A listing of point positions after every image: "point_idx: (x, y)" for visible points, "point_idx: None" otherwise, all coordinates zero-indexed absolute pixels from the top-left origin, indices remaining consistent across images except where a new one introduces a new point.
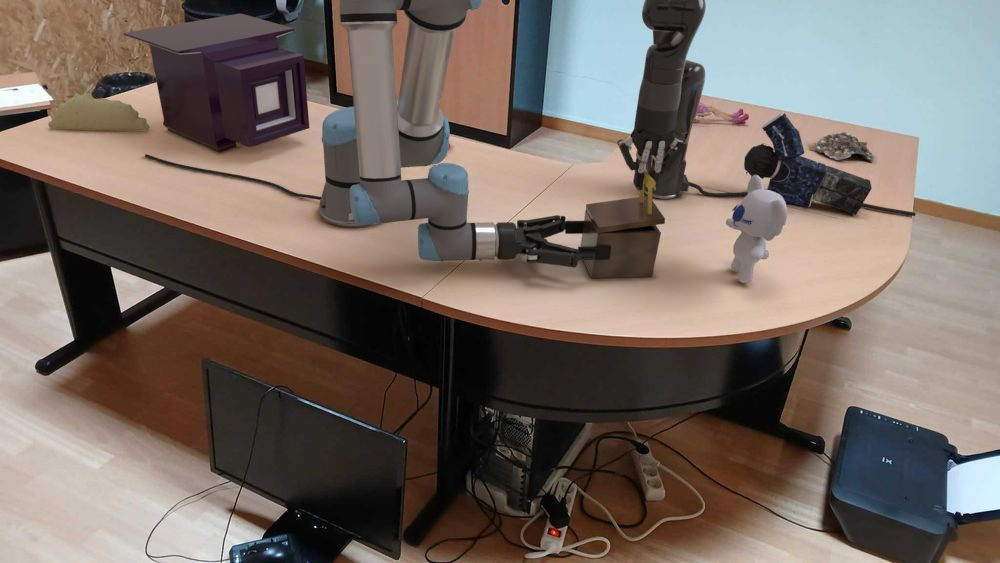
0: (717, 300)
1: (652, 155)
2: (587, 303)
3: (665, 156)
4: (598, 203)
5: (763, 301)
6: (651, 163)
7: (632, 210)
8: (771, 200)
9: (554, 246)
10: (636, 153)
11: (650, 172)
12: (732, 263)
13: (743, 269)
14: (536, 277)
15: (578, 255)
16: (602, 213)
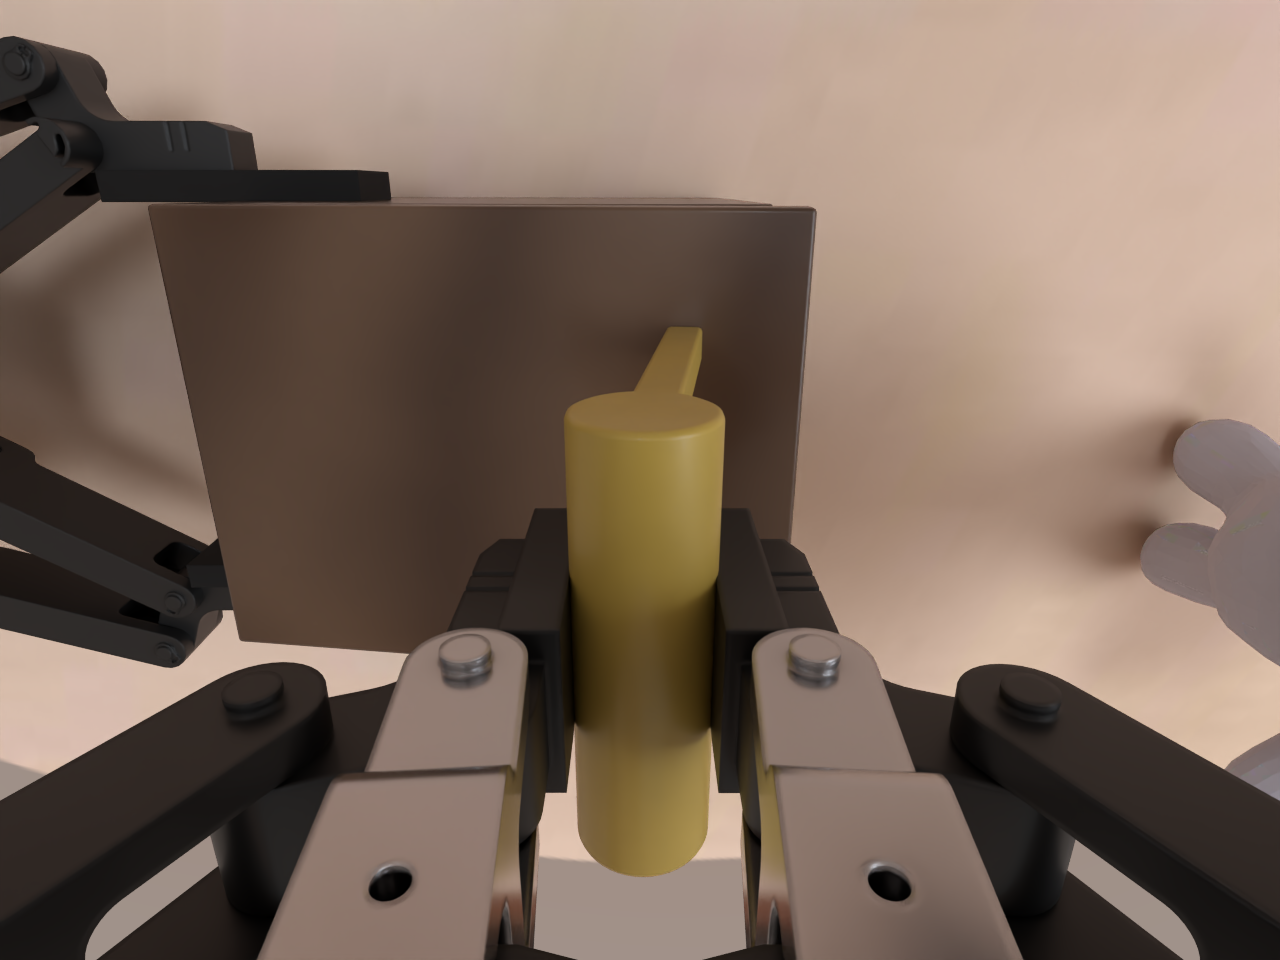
0: (939, 669)
1: (769, 857)
2: (335, 669)
3: (1106, 858)
4: (267, 228)
5: (1145, 683)
6: (755, 690)
7: (555, 472)
8: None
9: (25, 550)
10: (326, 807)
11: (719, 651)
12: (1196, 456)
13: (1189, 589)
14: (86, 455)
15: (196, 624)
16: (286, 441)
